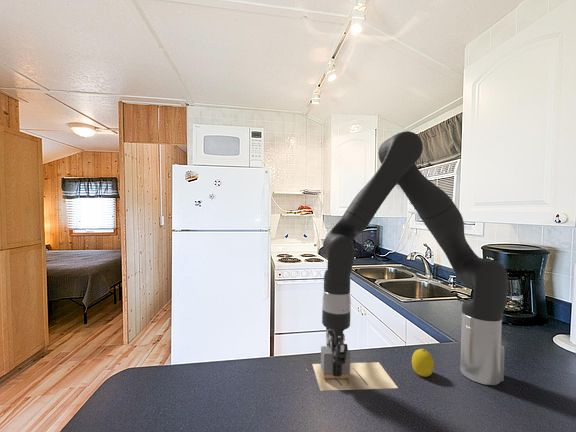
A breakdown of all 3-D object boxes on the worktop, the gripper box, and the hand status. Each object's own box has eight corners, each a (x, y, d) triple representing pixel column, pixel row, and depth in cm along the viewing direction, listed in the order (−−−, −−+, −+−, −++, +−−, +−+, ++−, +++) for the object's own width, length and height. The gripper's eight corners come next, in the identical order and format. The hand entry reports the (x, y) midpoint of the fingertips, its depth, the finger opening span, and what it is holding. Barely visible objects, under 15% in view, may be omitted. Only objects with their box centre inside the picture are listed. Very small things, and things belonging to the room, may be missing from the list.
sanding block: (345, 369, 76) (345, 345, 76) (349, 377, 72) (350, 353, 72) (320, 369, 76) (321, 346, 76) (323, 378, 72) (324, 353, 72)
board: (378, 366, 81) (378, 362, 81) (397, 392, 69) (398, 387, 69) (312, 368, 80) (312, 363, 80) (320, 395, 68) (320, 390, 68)
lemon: (430, 373, 78) (431, 345, 78) (435, 385, 73) (436, 355, 73) (409, 370, 80) (410, 342, 80) (413, 381, 74) (413, 352, 74)
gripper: (358, 317, 67) (357, 387, 67) (342, 299, 81) (341, 356, 82) (328, 318, 67) (327, 387, 67) (317, 299, 81) (316, 357, 81)
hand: (334, 370), depth 74 cm, fingers closed on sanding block, 4 cm apart
